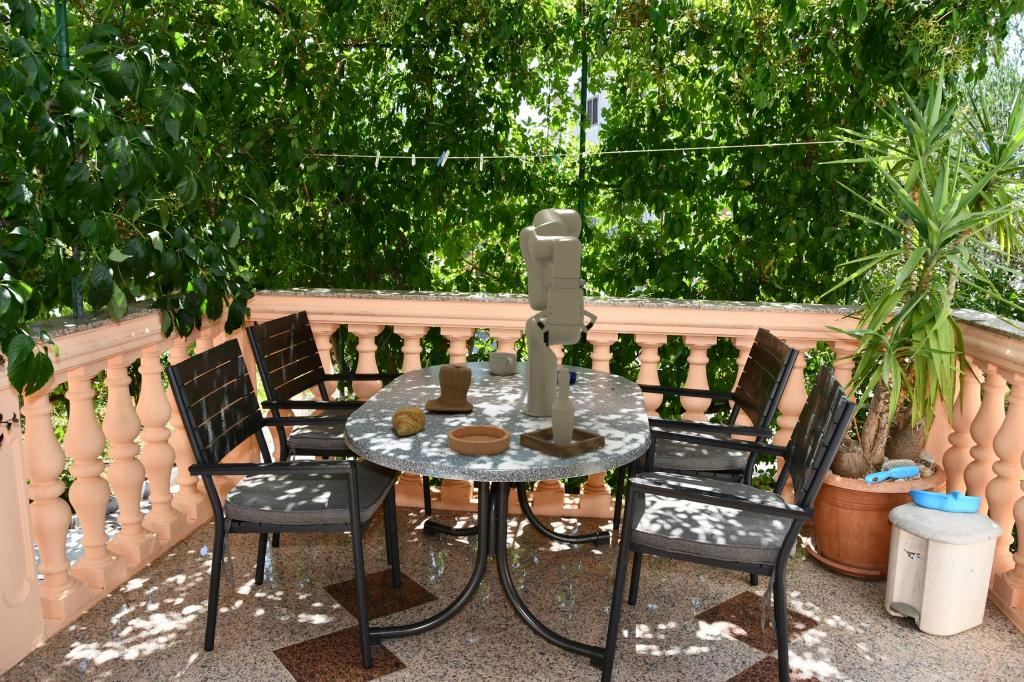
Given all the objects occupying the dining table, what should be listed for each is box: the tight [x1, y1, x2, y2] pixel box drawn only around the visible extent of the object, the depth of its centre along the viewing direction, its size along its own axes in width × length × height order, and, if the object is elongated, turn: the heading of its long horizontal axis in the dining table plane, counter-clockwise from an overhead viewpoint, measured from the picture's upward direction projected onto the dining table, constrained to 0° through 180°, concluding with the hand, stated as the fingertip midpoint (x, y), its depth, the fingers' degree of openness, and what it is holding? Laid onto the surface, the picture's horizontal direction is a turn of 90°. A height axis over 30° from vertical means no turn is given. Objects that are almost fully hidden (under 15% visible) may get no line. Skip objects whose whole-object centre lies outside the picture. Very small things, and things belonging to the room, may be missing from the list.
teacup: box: [488, 351, 518, 376], centre depth 334 cm, size 14×11×8 cm
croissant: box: [390, 405, 426, 437], centre depth 259 cm, size 21×10×8 cm, turn 176°
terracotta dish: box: [446, 424, 512, 456], centre depth 243 cm, size 17×17×4 cm
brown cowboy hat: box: [424, 364, 474, 413], centre depth 280 cm, size 15×12×15 cm
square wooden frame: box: [519, 426, 606, 459], centre depth 244 cm, size 17×17×3 cm
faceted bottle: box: [551, 367, 575, 446], centre depth 242 cm, size 6×6×22 cm
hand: (564, 346), depth 239 cm, fingers open, 9 cm apart
